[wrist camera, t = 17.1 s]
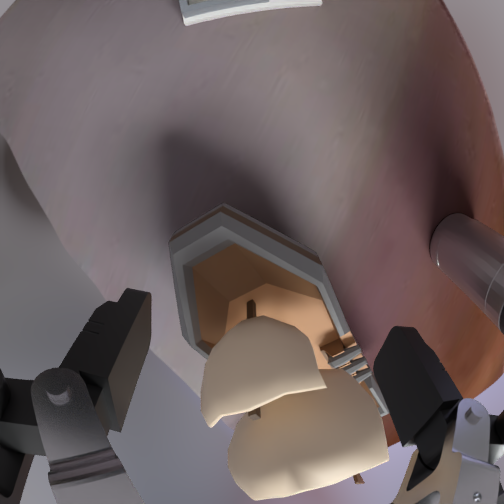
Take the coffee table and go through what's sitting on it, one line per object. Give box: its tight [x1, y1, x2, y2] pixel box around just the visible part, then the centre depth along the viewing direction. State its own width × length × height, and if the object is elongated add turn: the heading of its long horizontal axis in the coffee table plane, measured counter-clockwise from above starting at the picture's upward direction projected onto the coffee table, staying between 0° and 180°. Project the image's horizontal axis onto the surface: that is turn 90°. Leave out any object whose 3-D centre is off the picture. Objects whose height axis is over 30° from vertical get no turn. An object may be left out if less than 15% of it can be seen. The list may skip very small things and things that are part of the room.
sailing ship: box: [169, 203, 389, 500], centre depth 32 cm, size 16×45×27 cm, turn 30°
